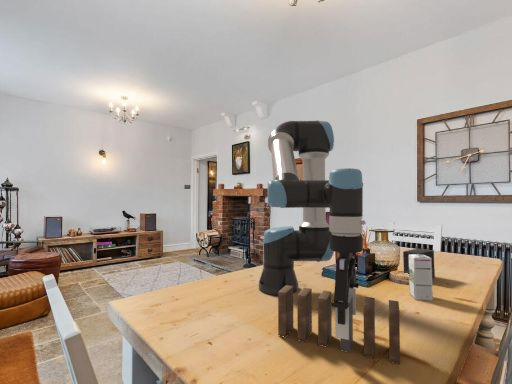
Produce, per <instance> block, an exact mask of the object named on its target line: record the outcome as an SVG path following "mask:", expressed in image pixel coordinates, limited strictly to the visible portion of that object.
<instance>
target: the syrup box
mask: <svg viewBox="0 0 512 384" xmlns="http://www.w3.org/2000/svg"><path fill="white" fill-rule="evenodd" d="M408 282H409V283H408V285H409V286H408V287H409V289H408V290H409V295H410V296H411V298H413V299H414V300H416V301H417V300H418V301H431V302H433V300H434V297H433V295H434V294H433V278H432V262H431V258H430V257H428V256H426V255H421V254H409V280H408Z"/></svg>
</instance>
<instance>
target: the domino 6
mask: <svg viewBox="0 0 512 384" xmlns="http://www.w3.org/2000/svg"><path fill="white" fill-rule="evenodd" d="M399 303H400V302H399V300H398V301H397V300H392V299H388V348H389V349H388V352H389V353H388V356H389V358H388V359H389V360H388V361H390V362H389V363H391V362H394V363H393V364H396V363H398V364H397V365H401V339H400V338H401V336H400V335H401V333H400V332H401V331H400V329H401V327H400V326H401V325H400V324H401V323H400V318H401V317H400V316H401V315H400V304H399Z"/></svg>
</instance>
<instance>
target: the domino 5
mask: <svg viewBox="0 0 512 384" xmlns="http://www.w3.org/2000/svg"><path fill="white" fill-rule="evenodd" d="M375 301H376V299H375V297H371V296H365V297H364V302H363V357H366V356H367V358H370V357H372V358H371V359H375V349H376V322H375V321H376V319H375V318H376V315H375V314H376V311H375Z"/></svg>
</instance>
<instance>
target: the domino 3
mask: <svg viewBox="0 0 512 384" xmlns="http://www.w3.org/2000/svg"><path fill="white" fill-rule="evenodd" d="M331 303H333V302H332V291H330V290H322V292H321V293H320V295H319V296H318V297H317V338H318V339H317V346H319V345H323V346H326V347H325V348H328V346H329V343H330V341H331V339H332V330H333V329H332V325H333V323H332V319H333V318H332V317H333V316H332V308H333V307H332V306H331ZM330 338H331V339H330ZM327 345H328V346H327ZM323 346H322V347H323Z"/></svg>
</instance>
